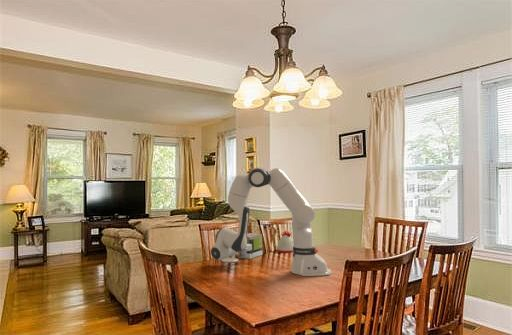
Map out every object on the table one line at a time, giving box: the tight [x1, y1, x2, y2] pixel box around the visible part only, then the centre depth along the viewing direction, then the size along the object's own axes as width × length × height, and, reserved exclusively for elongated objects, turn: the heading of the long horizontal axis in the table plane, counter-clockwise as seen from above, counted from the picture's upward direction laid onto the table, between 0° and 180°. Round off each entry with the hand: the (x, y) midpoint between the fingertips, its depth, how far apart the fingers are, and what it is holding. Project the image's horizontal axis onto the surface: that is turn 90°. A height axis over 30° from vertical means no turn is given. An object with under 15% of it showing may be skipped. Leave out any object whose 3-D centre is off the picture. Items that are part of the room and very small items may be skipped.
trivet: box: [221, 257, 239, 264], centre depth 223 cm, size 11×11×1 cm
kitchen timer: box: [276, 230, 294, 254], centre depth 254 cm, size 14×14×15 cm
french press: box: [237, 251, 247, 258], centre depth 219 cm, size 8×6×16 cm
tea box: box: [239, 232, 263, 260], centre depth 237 cm, size 15×10×15 cm, turn 144°
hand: (242, 244), depth 219 cm, fingers closed on french press, 6 cm apart
